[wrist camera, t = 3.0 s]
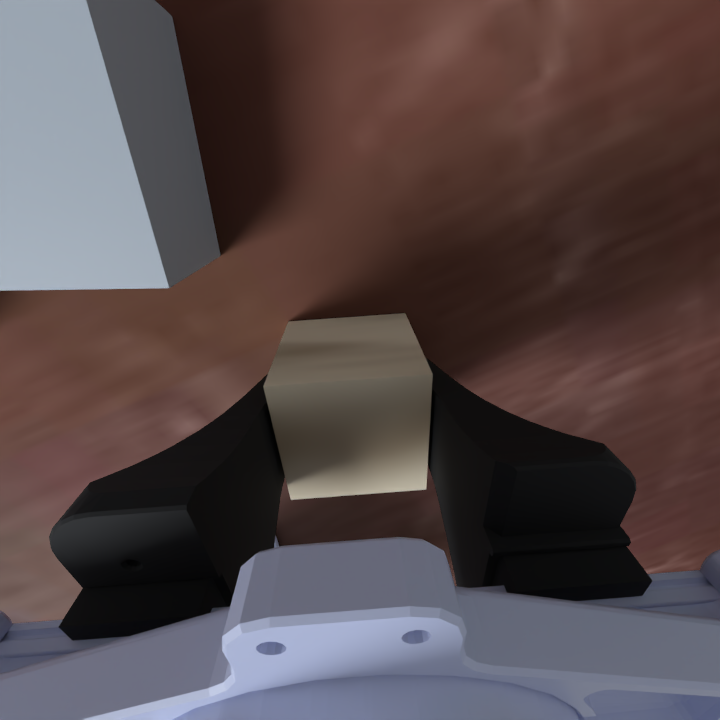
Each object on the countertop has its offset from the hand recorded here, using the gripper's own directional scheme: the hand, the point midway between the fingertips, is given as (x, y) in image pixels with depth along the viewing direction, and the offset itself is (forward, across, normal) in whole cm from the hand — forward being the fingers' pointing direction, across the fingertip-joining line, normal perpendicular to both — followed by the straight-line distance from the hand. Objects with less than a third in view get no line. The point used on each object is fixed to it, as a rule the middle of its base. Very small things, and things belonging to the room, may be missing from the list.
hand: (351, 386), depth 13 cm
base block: (+2, +7, -8) cm, 11 cm away
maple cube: (+1, 0, 0) cm, 1 cm away
